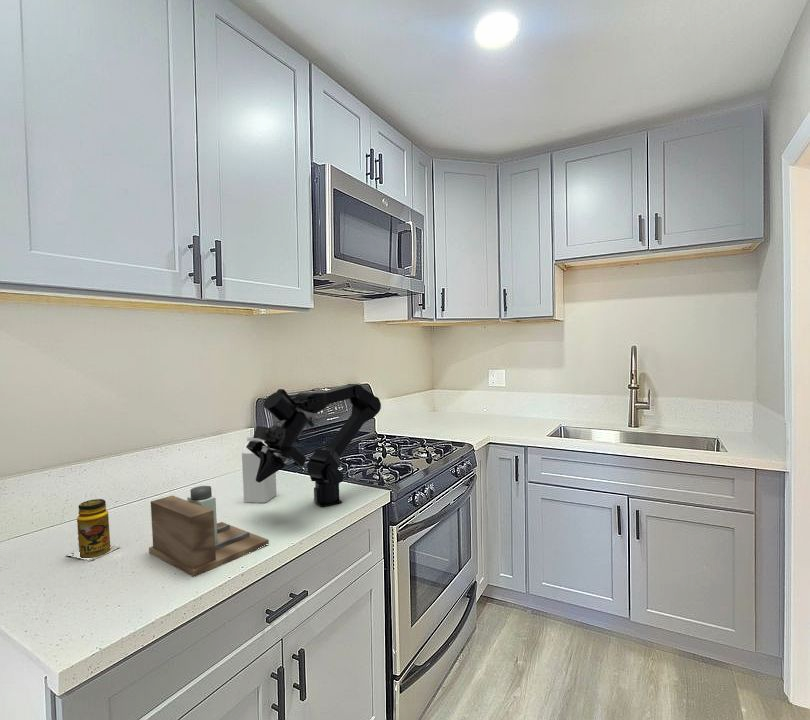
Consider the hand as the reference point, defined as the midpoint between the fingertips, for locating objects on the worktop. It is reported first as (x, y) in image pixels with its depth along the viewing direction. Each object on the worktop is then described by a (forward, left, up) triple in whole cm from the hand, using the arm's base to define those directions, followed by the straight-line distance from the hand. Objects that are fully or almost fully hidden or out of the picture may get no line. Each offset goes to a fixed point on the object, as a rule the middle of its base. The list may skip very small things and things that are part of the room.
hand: (257, 481), depth 120 cm
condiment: (+36, -9, -13) cm, 39 cm away
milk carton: (-6, -24, -12) cm, 28 cm away
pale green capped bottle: (+14, +6, -11) cm, 19 cm away
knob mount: (+13, +5, -12) cm, 19 cm away
